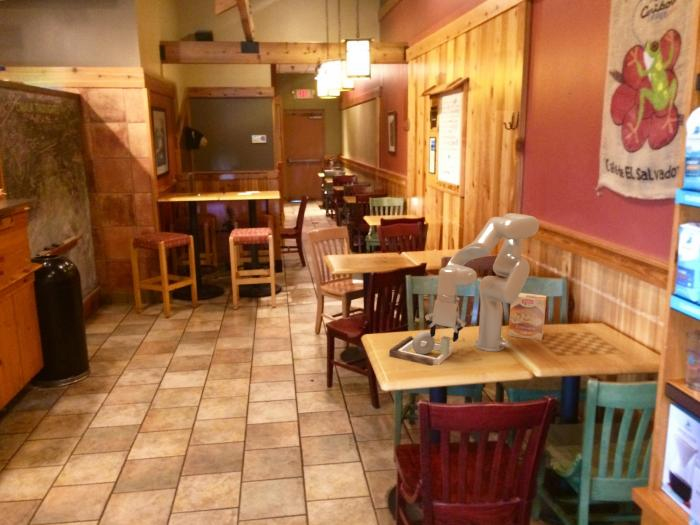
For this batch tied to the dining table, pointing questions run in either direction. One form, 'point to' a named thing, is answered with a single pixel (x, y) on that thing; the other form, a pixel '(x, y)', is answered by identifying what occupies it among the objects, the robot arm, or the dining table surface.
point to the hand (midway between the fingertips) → (443, 338)
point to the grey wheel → (427, 347)
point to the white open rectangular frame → (443, 348)
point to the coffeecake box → (527, 316)
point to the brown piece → (409, 357)
